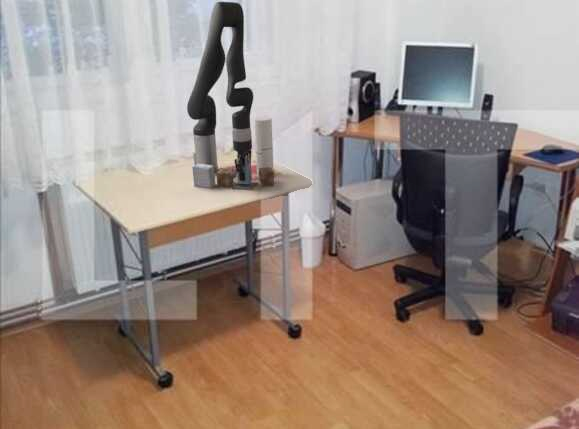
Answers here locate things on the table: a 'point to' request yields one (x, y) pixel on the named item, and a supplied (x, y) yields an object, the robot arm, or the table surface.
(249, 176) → the block
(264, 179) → the bearing block
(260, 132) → the cylindrical container
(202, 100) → the robot arm
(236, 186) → the pad
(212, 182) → the medicine box
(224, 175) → the bearing block
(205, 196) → the table surface
